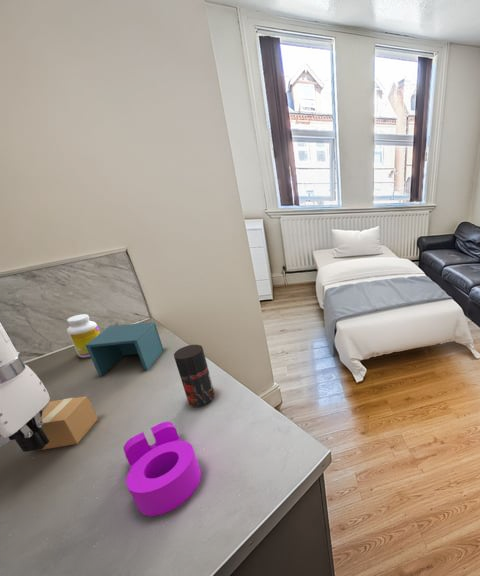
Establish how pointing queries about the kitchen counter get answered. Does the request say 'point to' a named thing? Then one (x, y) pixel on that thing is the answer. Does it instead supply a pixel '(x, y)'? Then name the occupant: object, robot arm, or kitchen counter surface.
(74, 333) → the supplement bottle
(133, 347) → the shelf
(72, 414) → the box
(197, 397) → the deodorant
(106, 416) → the kitchen counter surface
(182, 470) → the magenta ring bracket
